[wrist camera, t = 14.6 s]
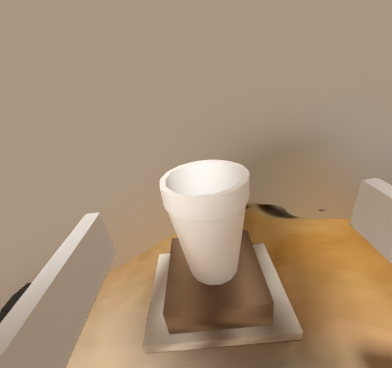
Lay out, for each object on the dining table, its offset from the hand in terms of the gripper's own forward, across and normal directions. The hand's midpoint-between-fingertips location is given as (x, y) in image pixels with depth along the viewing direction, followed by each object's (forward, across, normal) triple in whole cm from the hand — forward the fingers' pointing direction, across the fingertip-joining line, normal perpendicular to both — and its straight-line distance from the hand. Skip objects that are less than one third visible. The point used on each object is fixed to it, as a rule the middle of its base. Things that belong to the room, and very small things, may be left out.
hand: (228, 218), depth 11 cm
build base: (+11, -2, -21) cm, 24 cm away
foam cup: (+11, -1, -16) cm, 19 cm away
